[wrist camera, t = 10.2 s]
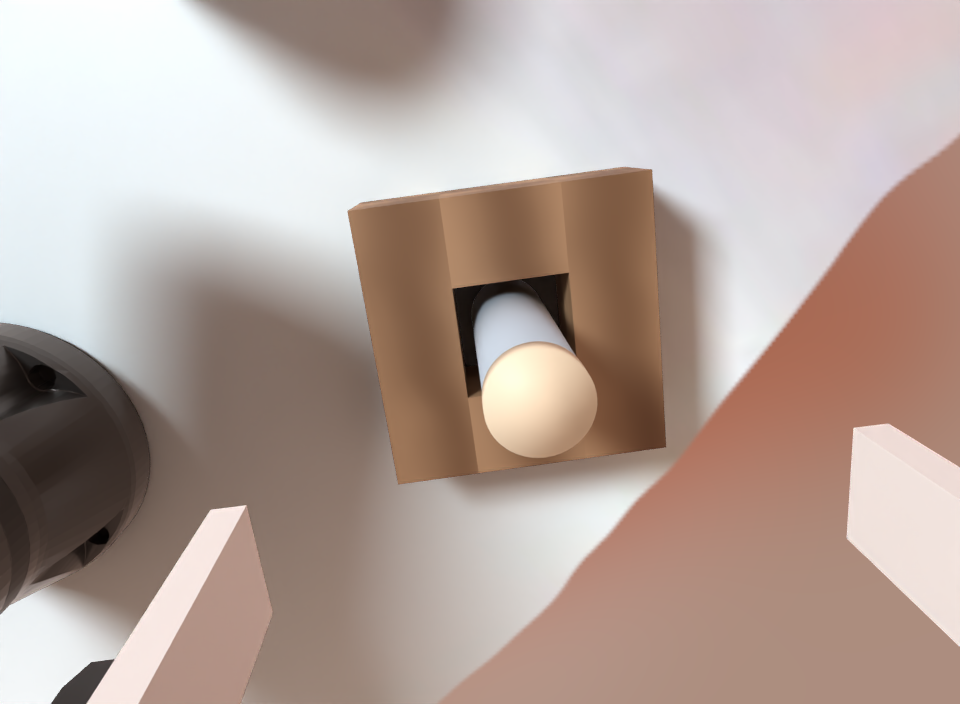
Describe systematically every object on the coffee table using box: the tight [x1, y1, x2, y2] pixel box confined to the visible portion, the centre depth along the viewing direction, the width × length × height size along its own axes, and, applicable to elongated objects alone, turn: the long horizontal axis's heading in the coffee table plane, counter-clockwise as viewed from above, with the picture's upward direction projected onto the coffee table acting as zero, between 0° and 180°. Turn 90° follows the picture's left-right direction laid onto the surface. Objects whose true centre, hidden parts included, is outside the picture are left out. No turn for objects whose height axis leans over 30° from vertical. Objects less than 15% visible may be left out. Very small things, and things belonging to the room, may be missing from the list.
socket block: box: [348, 167, 666, 484], centre depth 35 cm, size 14×14×5 cm
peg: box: [471, 280, 597, 458], centre depth 30 cm, size 4×4×14 cm
